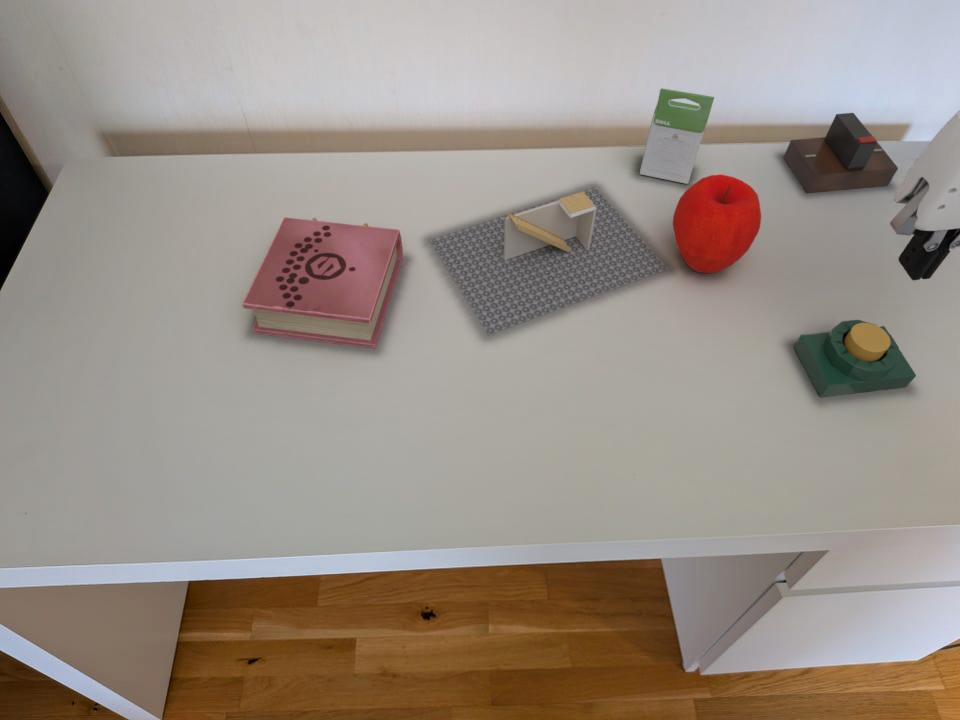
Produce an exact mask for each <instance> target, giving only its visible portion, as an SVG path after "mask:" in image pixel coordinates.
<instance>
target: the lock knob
mask: <svg viewBox="0 0 960 720" xmlns="http://www.w3.org/2000/svg"><path fill="white" fill-rule="evenodd" d="M824 137H825V140H826V142H827V143H828V144H829V146H830V147H831V149H832V150H833V151H834V153H835V154H836V155H837V157H838V158H839V159H840V161H841V162H842V164H843V165H844V166H845V168H846V169H847V170H849V169H861V168H865V166H866V164H867V162H868V160H869V159H870V157H871V155H872V153H873V151H874V150H875V148H876V146H877V144H879V142H878V140H877V139H876V138H875V136H873V135H872V133H871V132H869V130H868V129H867V128H866V126H865V125H864V124H863V123H862V121H861V120H860V119H859V118H858V117H857V115H856V114H855V113H854V112H846V113H845V112H844V113H836V114H835V116H834V118H833V120H832V123H831V124H830V127H829V129H828V131H827V133H826V135H825V136H824ZM877 142H878V143H877Z"/></svg>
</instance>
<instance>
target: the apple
mask: <svg viewBox="0 0 960 720" xmlns="http://www.w3.org/2000/svg"><path fill="white" fill-rule="evenodd" d="M672 216H673V217H672V228H673V235H674V239H675V244H676V246H677V249H678V251H679V253H680V255H681V257H682V258H683V261H684V262H685V263H686V265H687V266H688V267H689V268H691V269H692V270H693V271H696V272H699V273H702V274H715V273H718V272H720V271H722V270H724V269H726V268H729V267H731V266H733V265H734V264H735V263H736V262H738V261H739V260H740V259H741V258H742V257H743V256H744V255H745V254H746V253H747V252H748V251H749V249H750V248H751V246H752V244H753V243H754V241H755V239H756V238H757V235H758V234H759V231H760V228H761V223H762V211H761V203H760V200H759V195H758V193H757V192H756V191H755V189H754V188H753V187H752V186H751V185H749V184H748V183H746V182H745V181H743V180H741V179H739V178H737V177H735V176H731V175H726V174H711V175H708V176H705V177H702V178H700V179H699V180H698V181H696V182H695V183H693V184H692V185H691V186H689V188H687V189H686V190H684V192H683V194H682V195H681V196H680V197H679V200H678V202H677V204H676V207H675V209H674V213H673V215H672Z"/></svg>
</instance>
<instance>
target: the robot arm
mask: <svg viewBox="0 0 960 720" xmlns="http://www.w3.org/2000/svg"><path fill="white" fill-rule="evenodd" d="M892 199H893V201H894V202H895V203H896V205H897V204H903V205H904V204H905V205H904V206H903V208H901V210H900V211H899V212H898V213H897V214H896V215H895V216H894V218H892V219H891V220H890V222H889V225H890V227H891V228H892V231H894V232H895V233H896V235H899V236H912V237H911V238H910V240H909V241H908V243H907V244H906V246H905V247H904V249H903V250H902V251H901V253H900V255H899V256H898V262H899V264H900V265H901V267H902V268H903V269H904V271H905V273H906V274H907V275H908V276H909V278H910V279H911V280H912V281H919V280H921V279H922V280H929V279H931V278H932V277H933V275H934V274H935V273H936V271H937V270H938V269H939V267H940V266H941V265H942V263H943V262H944V261H945V259H947V257H948V256H949V254H950V253H951V250H954V249H958V248H959V247H960V109H959V110H957V112H956V113H955V114H953V116H952V117H951V118H949V120H948V121H946V123H945V124H944V125H943V126H942V128H940V129H939V131H938V132H937V133H936V134H935V136H933V138H932V139H931V141H930V142H928V144H927V145H926V147H924V150H923V151H922V152H921V153H920V154H919V155H918V157H917V159H916V160H915V162H914V163H913V165H912V166H911V167H910V169H909V170H908V171H907V173H906V175H905V176H904V177H903V179H902V181H901V182H900V183H899V185H898V187H897V188H896V190H895V191H894V194H893V197H892Z"/></svg>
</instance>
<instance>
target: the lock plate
mask: <svg viewBox="0 0 960 720" xmlns="http://www.w3.org/2000/svg"><path fill="white" fill-rule="evenodd" d="M825 137H826V136H824V137H823V136H822V137H811V138H810V137H809V138H797V139H791V140H790V141H789V144H788V146H787V148H786V151H785V153H784V155H783V159H784V161H785V163H786V164H787V165H788V167H789V169H790V170H791V171H792V173H793V175H794V176H795V178H796V179H797V181H798V183H800V185H801V187H802V188H803V190H804V191H805V193H806V194H812V193H820V192H821V193H822V192H832V191H833V192H834V191H844V190H856V189H865V188H867V189H868V188H876V187H877V188H879V187H887V186H889V185H890V183H891V181H892V180H893V178H894V176H895V175H896V173H897V171H898V169H899V167H898V165H896V163H895V162H894V160H893V159H891V157H890V155H888V153H887V152H886V151H885V150H884V148H883V147H882V145H880V143H879V142H878V141H877V143H878V144H877V146H876V148H875V150H874V151H873V153H872V155H871V157H870V159H869V160H868V162H867V164H866V166H865V168H861V169H849V170H847V169H846V168H845V166H844V165H843V164H842V162H841V161H840V159H839V158H838V157H837V155H836V154H835V153H834V151H833V150H832V149H831V147H830V146H829V144H828V143H827V142H826V140H825Z"/></svg>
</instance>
